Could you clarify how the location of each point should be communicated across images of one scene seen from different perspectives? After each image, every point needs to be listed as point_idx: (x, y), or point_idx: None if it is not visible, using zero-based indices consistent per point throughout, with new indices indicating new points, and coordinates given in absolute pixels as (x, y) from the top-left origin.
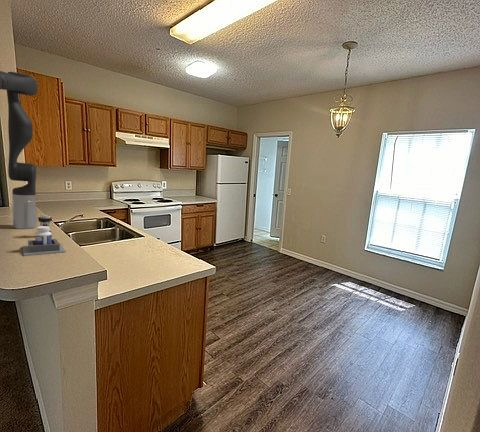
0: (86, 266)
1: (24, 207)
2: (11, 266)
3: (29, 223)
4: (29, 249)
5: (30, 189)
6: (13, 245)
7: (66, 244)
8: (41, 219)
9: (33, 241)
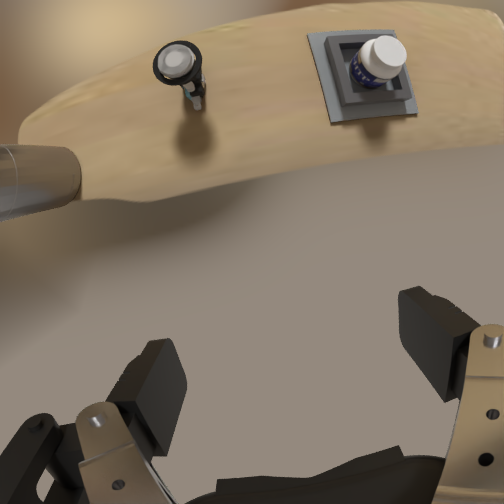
0: (481, 24)
1: (33, 170)
2: (477, 134)
3: (66, 156)
4: (399, 100)
5: None
6: (308, 145)
7: (309, 22)
8: (199, 69)
9: (351, 90)
